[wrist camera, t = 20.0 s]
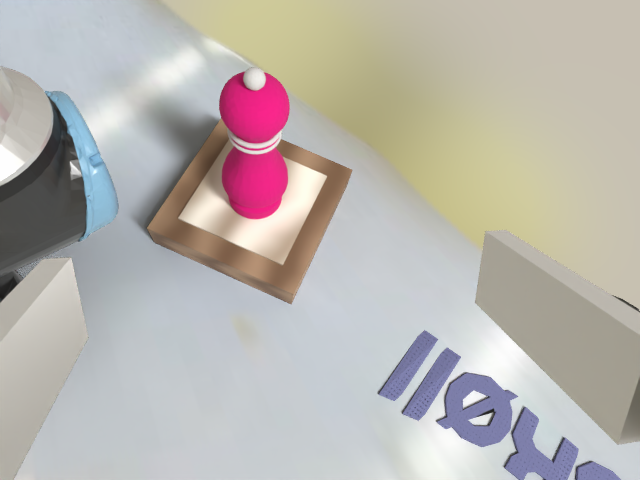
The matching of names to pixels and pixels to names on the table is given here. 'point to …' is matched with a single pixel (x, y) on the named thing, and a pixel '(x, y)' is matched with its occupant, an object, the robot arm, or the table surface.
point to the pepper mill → (254, 142)
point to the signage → (528, 458)
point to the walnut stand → (251, 234)
